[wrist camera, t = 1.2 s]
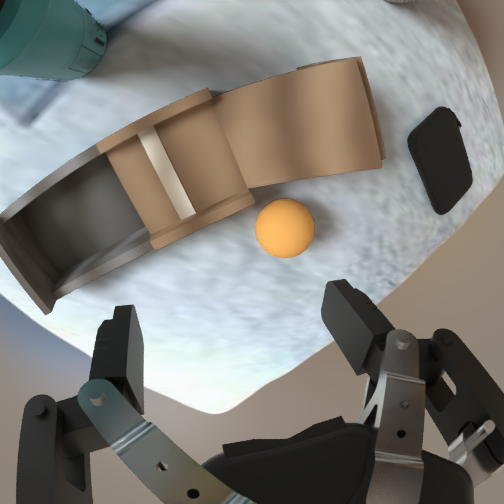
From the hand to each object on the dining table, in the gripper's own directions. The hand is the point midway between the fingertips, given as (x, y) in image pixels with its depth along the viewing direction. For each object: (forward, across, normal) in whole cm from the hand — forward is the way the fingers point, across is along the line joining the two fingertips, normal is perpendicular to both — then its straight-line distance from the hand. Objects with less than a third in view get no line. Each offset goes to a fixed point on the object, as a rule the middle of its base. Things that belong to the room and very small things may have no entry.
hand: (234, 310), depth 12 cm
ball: (+17, -8, +5) cm, 19 cm away
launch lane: (+20, +3, -2) cm, 20 cm away
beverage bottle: (+20, +11, -14) cm, 27 cm away
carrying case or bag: (+20, -33, -3) cm, 39 cm away
